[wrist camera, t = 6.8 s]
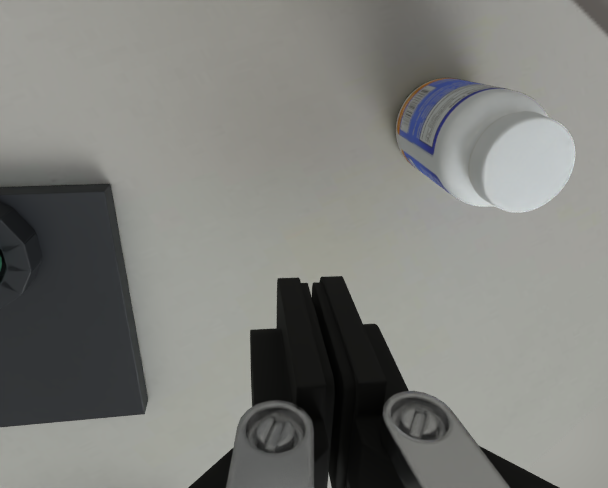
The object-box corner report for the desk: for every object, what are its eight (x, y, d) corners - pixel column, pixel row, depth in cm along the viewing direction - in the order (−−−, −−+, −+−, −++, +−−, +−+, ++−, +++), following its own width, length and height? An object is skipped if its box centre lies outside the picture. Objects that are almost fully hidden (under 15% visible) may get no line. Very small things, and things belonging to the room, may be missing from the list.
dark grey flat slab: (-165, 191, 24) (-215, 211, 22) (110, 182, 26) (96, 200, 23) (-67, 418, 31) (-95, 455, 28) (148, 399, 33) (140, 432, 30)
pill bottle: (486, 151, 28) (598, 204, 20) (403, 181, 29) (478, 248, 20) (472, 61, 26) (593, 76, 17) (382, 95, 26) (456, 127, 17)
